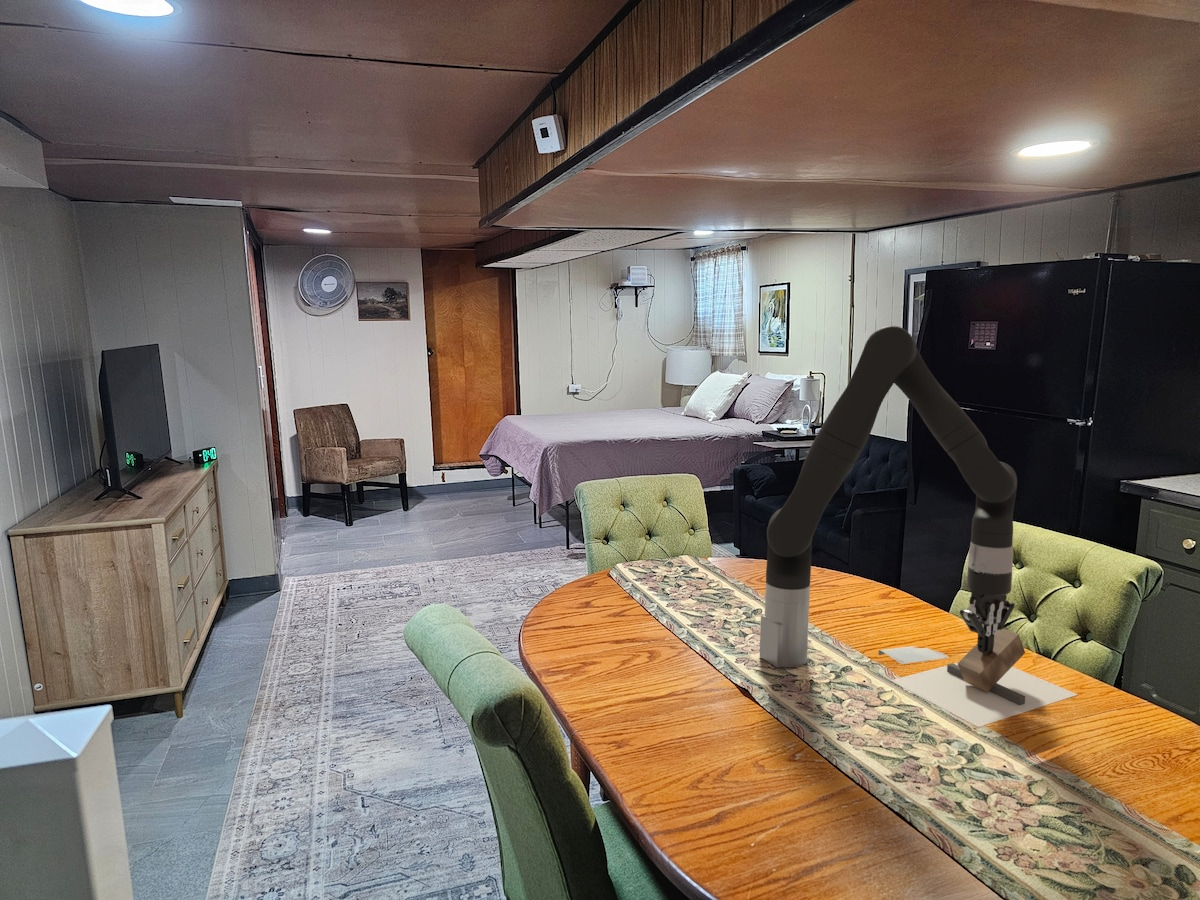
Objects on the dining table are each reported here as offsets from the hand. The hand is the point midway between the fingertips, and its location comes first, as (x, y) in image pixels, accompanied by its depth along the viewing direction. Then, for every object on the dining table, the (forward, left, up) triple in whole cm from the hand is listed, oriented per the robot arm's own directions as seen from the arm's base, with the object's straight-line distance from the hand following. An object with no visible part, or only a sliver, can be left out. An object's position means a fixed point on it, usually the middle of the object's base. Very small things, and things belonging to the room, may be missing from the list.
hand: (985, 651), depth 144 cm
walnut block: (-3, 0, -5) cm, 6 cm away
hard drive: (+1, +17, -9) cm, 20 cm away
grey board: (0, 0, -9) cm, 9 cm away
